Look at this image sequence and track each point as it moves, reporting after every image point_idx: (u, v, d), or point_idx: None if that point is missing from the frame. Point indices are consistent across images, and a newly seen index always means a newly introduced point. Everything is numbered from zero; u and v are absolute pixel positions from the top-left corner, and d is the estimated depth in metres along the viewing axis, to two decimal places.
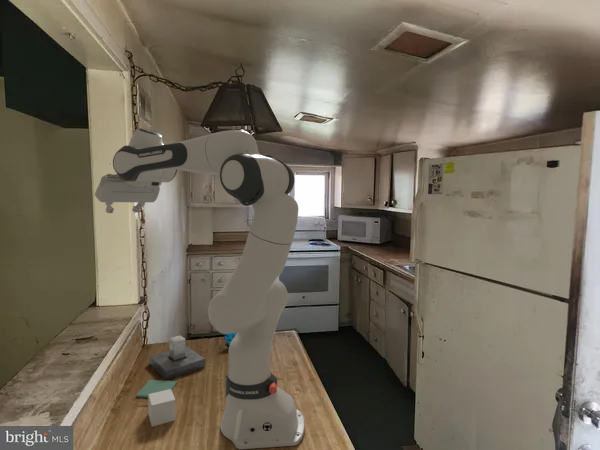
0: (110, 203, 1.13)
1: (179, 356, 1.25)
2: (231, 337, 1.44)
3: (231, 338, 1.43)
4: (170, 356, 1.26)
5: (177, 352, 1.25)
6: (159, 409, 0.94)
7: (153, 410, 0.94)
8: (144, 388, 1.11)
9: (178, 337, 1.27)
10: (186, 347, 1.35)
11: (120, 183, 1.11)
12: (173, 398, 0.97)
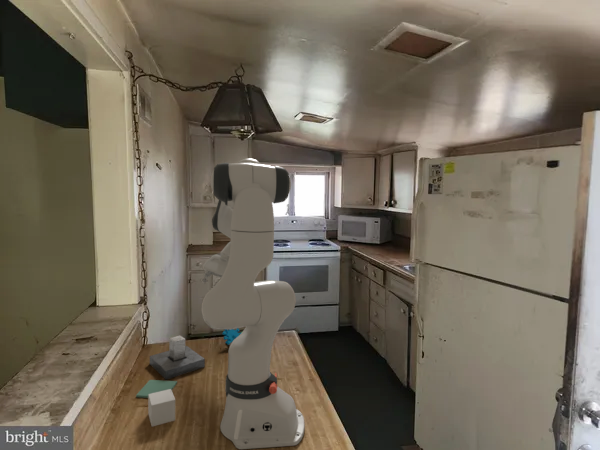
0: (206, 271, 1.39)
1: (179, 356, 1.25)
2: (231, 337, 1.44)
3: (230, 338, 1.44)
4: (170, 356, 1.26)
5: (177, 352, 1.25)
6: (159, 409, 0.94)
7: (153, 410, 0.94)
8: (144, 388, 1.11)
9: (178, 337, 1.27)
10: (186, 347, 1.35)
11: (218, 255, 1.41)
12: (173, 398, 0.97)
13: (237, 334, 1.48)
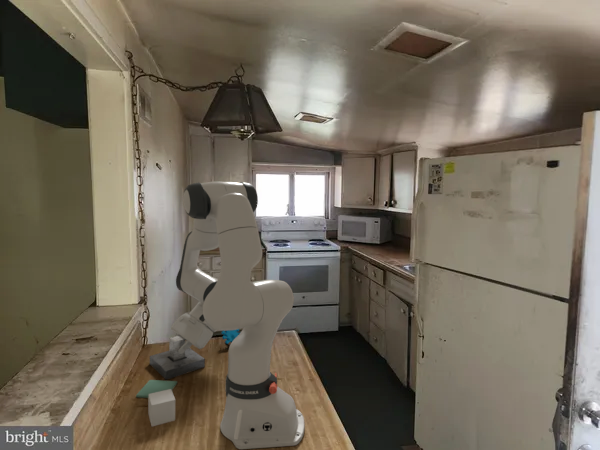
0: (176, 335, 1.30)
1: (179, 356, 1.25)
2: (230, 336, 1.44)
3: (229, 338, 1.44)
4: (170, 356, 1.26)
5: (177, 352, 1.25)
6: (159, 409, 0.95)
7: (153, 410, 0.94)
8: (144, 388, 1.11)
9: (178, 337, 1.27)
10: None
11: (187, 316, 1.34)
12: (173, 398, 0.97)
13: (236, 334, 1.48)
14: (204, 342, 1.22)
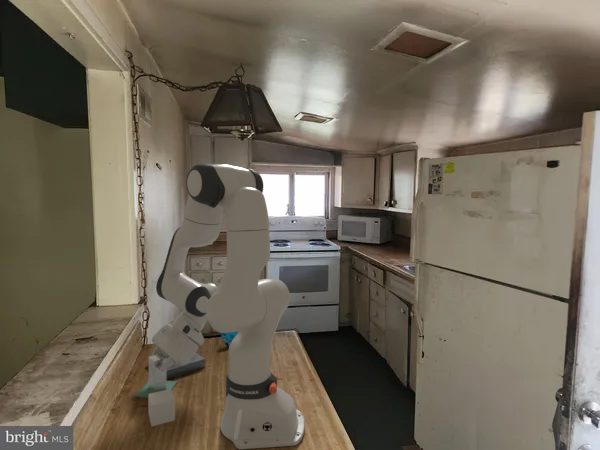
0: (156, 348, 1.15)
1: (160, 378, 1.09)
2: (228, 336, 1.45)
3: (228, 337, 1.44)
4: (149, 378, 1.10)
5: (157, 373, 1.09)
6: (159, 409, 0.95)
7: (153, 410, 0.94)
8: (144, 388, 1.11)
9: (159, 355, 1.11)
10: None
11: (170, 326, 1.18)
12: (173, 398, 0.97)
13: (236, 333, 1.48)
14: (187, 358, 1.06)
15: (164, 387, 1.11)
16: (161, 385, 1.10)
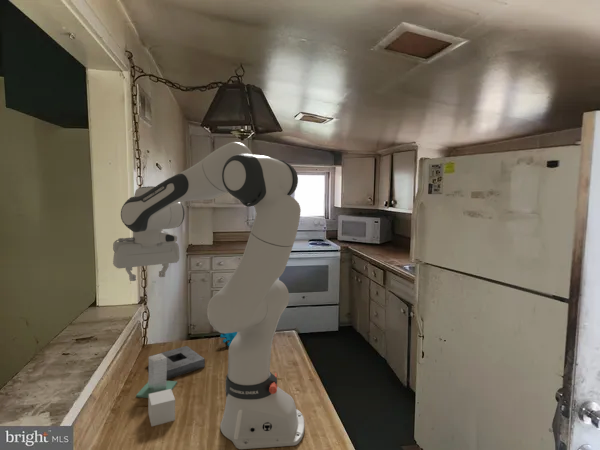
0: (130, 269, 1.12)
1: (160, 378, 1.09)
2: (228, 335, 1.45)
3: (227, 336, 1.45)
4: (149, 378, 1.10)
5: (157, 373, 1.09)
6: (159, 409, 0.95)
7: (153, 410, 0.94)
8: (144, 388, 1.11)
9: (159, 355, 1.11)
10: (186, 347, 1.35)
11: (133, 245, 1.11)
12: (173, 398, 0.97)
13: (235, 333, 1.48)
14: None
15: (164, 387, 1.11)
16: (161, 385, 1.10)
